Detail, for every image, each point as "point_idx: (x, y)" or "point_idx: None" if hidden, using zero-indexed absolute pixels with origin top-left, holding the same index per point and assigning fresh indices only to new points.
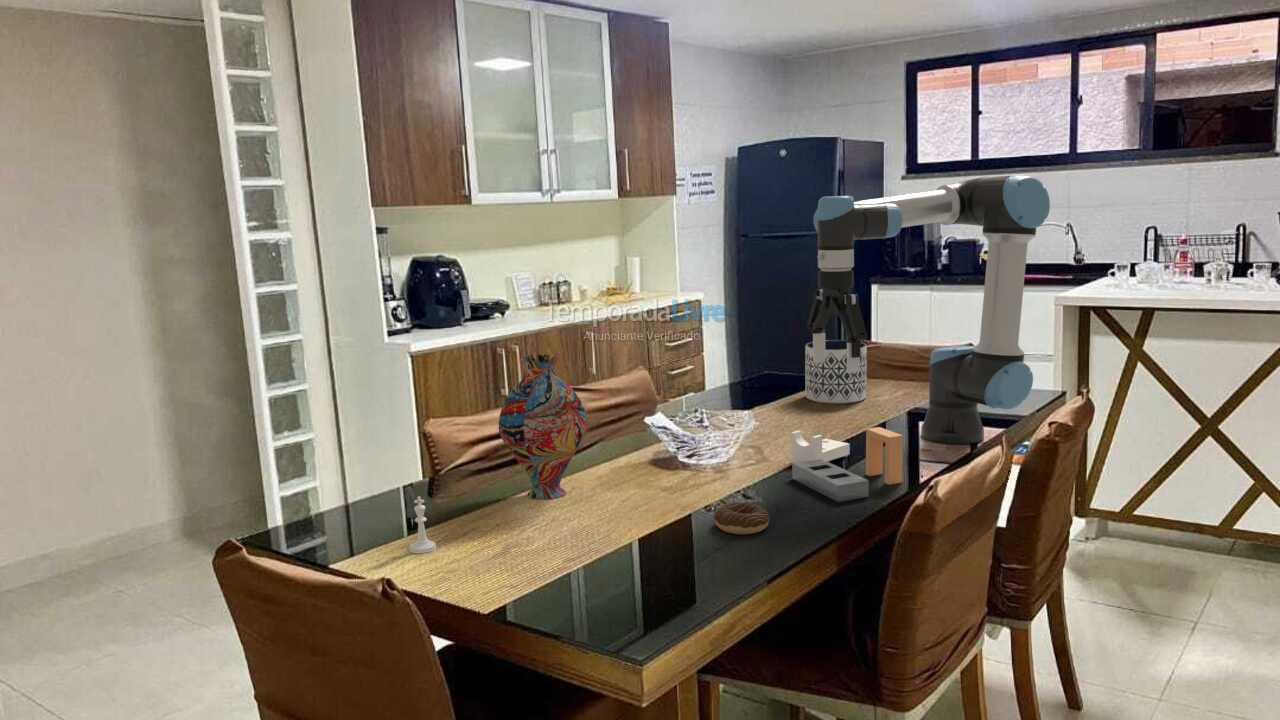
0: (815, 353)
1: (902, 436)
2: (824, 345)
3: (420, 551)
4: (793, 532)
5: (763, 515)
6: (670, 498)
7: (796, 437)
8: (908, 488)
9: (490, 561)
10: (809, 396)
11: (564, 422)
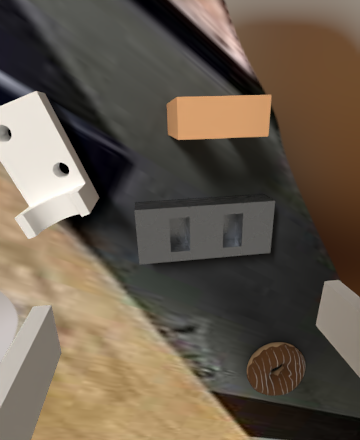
0: (44, 391)
1: (270, 96)
2: (13, 386)
3: None
4: (313, 324)
5: (300, 359)
6: (153, 398)
7: (39, 226)
8: None
9: None
10: None
11: None
